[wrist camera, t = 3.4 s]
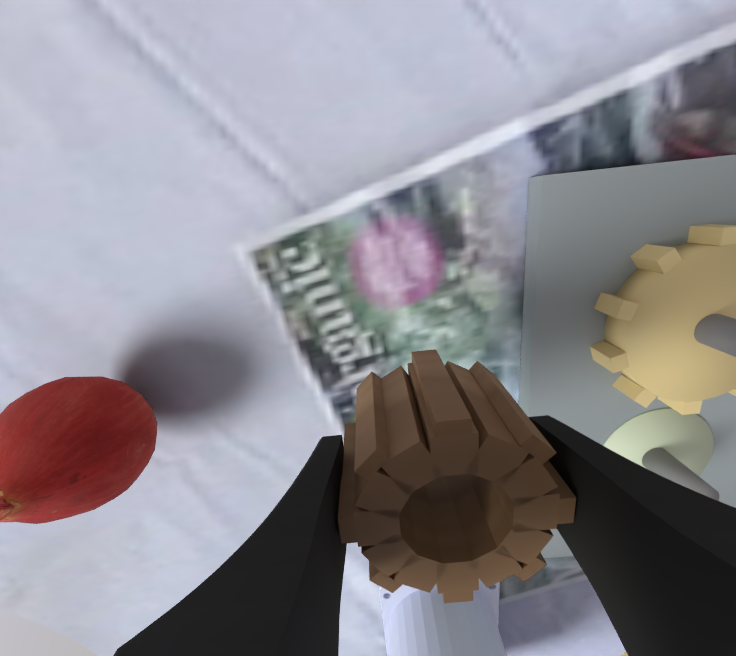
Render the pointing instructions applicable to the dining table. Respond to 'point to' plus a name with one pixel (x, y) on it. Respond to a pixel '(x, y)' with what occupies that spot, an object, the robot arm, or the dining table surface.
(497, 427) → the walnut gear
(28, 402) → the onion
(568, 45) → the dining table surface
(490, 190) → the dining table surface
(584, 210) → the gear board
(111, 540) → the dining table surface
